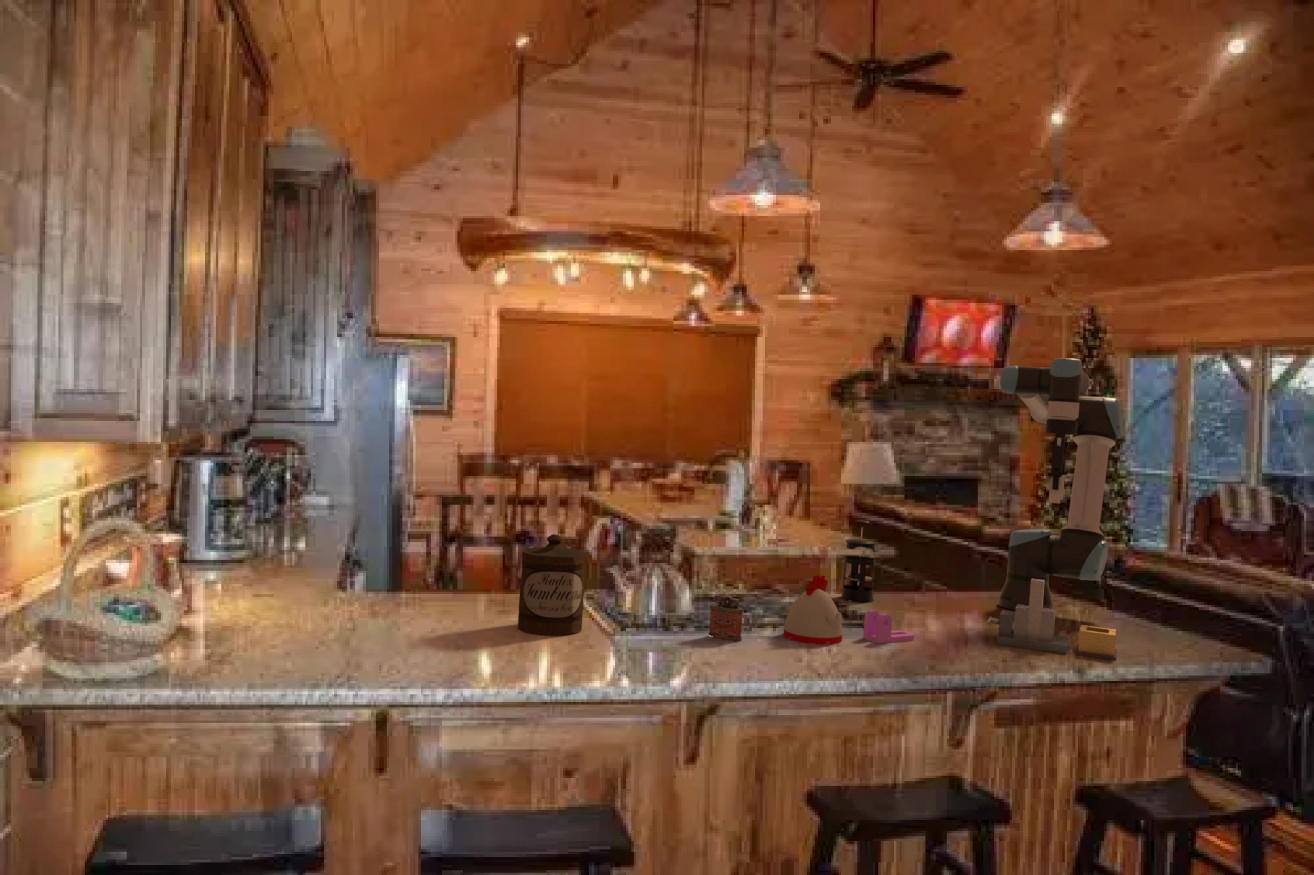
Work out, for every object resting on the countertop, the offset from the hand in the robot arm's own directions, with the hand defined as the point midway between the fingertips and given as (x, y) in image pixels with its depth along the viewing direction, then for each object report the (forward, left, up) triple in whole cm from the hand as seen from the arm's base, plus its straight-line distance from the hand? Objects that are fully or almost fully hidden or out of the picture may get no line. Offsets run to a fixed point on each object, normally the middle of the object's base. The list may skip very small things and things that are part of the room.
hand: (1055, 501), depth 281 cm
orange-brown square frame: (+14, +12, -34) cm, 39 cm away
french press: (-16, -53, -35) cm, 65 cm away
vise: (+15, -3, -35) cm, 38 cm away
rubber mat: (+14, +12, -35) cm, 40 cm away
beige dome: (+44, -50, -35) cm, 75 cm away
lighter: (+59, -67, -35) cm, 96 cm away
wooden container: (+76, -104, -35) cm, 133 cm away
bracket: (+33, -34, -35) cm, 58 cm away
